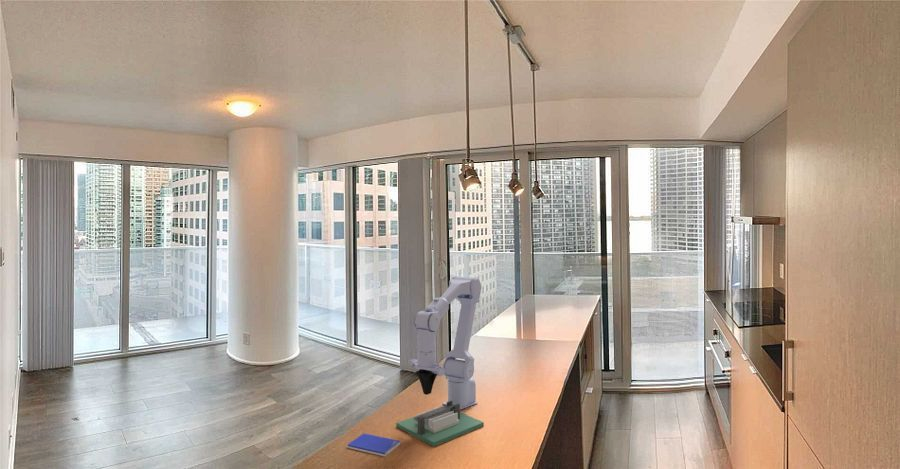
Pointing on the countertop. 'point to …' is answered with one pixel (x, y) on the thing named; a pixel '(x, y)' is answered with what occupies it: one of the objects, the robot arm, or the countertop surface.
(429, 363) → the robot arm
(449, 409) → the long grey plank
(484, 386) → the countertop surface
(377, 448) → the hard drive
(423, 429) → the heatsink board
